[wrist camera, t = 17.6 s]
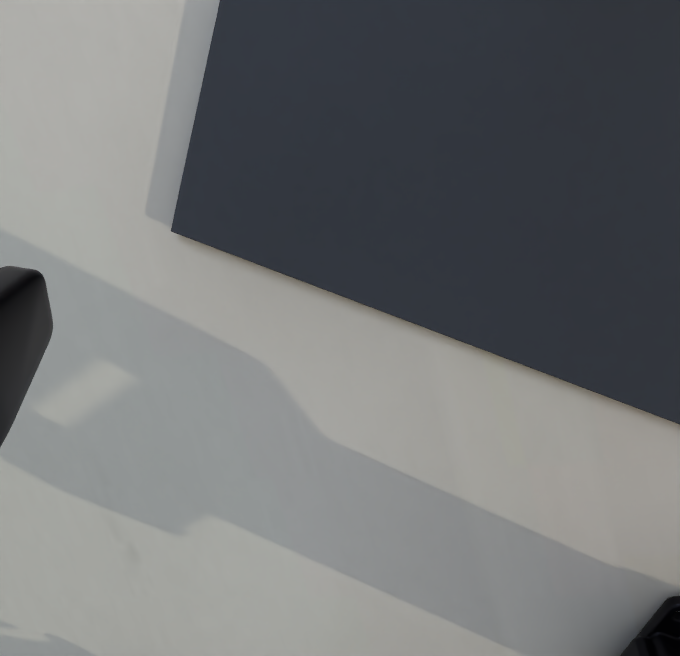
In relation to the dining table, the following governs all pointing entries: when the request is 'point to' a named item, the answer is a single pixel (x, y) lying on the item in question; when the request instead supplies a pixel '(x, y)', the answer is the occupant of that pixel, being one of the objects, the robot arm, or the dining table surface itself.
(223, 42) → the desk mat
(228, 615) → the dining table surface
